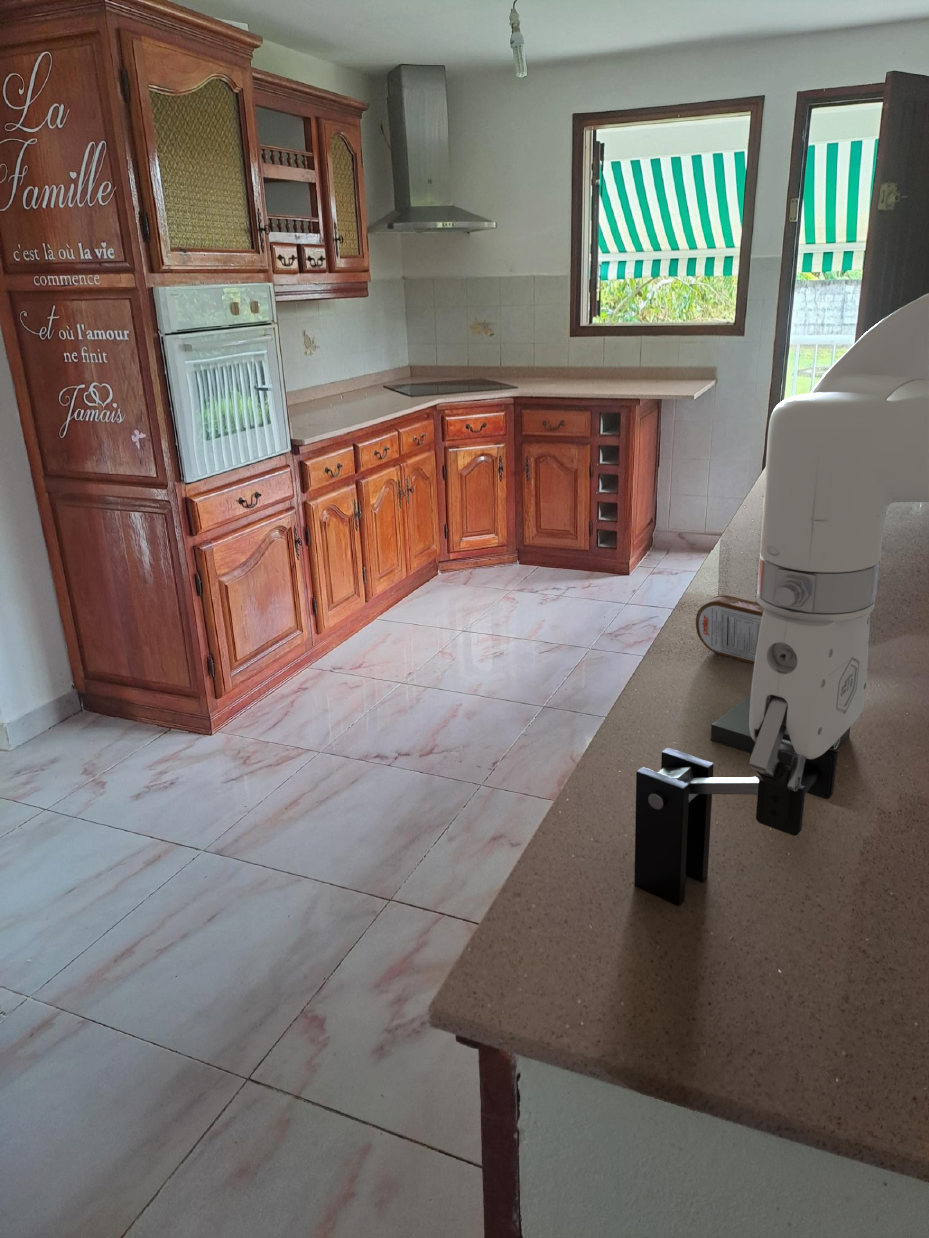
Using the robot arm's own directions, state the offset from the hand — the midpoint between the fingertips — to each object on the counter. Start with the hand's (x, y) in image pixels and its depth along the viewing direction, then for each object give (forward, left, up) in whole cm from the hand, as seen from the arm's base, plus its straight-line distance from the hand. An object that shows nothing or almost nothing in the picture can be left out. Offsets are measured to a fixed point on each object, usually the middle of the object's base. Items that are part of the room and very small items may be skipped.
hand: (794, 807), depth 66 cm
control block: (+14, -31, -13) cm, 37 cm away
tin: (+27, -49, -13) cm, 58 cm away
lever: (+5, 0, -1) cm, 5 cm away
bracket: (+10, 0, -13) cm, 16 cm away
